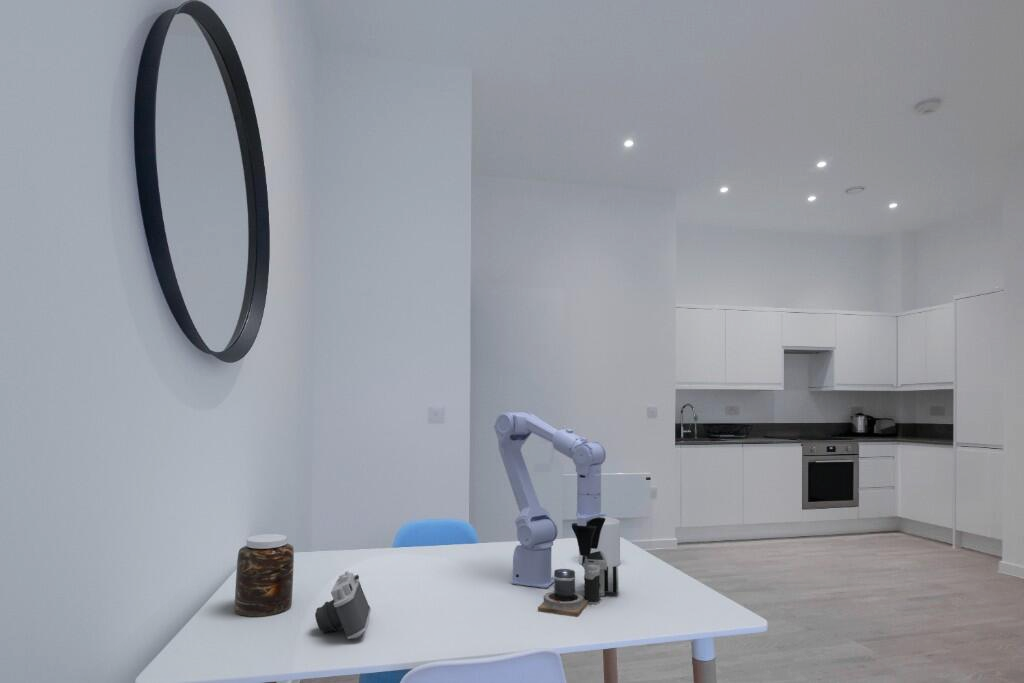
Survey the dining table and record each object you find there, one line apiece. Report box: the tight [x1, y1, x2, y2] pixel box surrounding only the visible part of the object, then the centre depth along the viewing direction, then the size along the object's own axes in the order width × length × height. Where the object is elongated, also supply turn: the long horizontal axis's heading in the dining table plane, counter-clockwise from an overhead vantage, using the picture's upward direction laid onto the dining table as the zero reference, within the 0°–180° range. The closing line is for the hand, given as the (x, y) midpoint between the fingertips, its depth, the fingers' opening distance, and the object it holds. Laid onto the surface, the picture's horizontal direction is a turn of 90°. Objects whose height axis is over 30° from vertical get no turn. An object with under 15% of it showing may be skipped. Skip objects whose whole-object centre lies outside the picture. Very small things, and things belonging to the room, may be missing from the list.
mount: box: [537, 590, 589, 617], centre depth 136 cm, size 9×9×2 cm
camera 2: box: [581, 551, 619, 606], centre depth 146 cm, size 16×9×10 cm, turn 171°
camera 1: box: [314, 571, 372, 640], centre depth 122 cm, size 9×16×10 cm, turn 9°
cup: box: [578, 516, 621, 568], centre depth 176 cm, size 12×12×12 cm
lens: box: [553, 568, 576, 602], centre depth 137 cm, size 5×5×7 cm
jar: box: [234, 533, 295, 618], centre depth 134 cm, size 12×12×15 cm
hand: (589, 551), depth 145 cm, fingers open, 7 cm apart
